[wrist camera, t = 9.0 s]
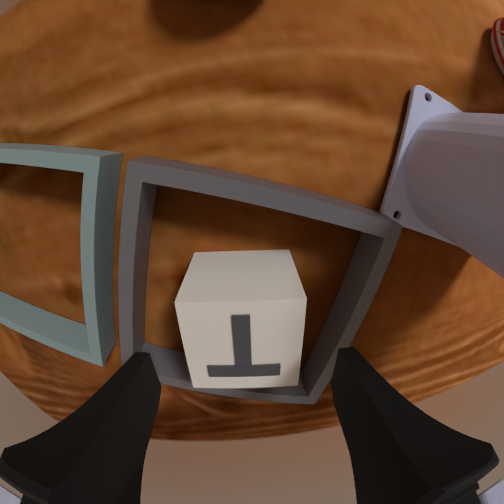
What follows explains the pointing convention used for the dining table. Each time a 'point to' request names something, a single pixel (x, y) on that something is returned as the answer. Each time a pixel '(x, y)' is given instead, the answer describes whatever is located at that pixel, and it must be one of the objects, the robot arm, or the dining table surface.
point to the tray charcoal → (267, 195)
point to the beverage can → (498, 42)
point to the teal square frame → (92, 254)
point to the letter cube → (242, 319)
